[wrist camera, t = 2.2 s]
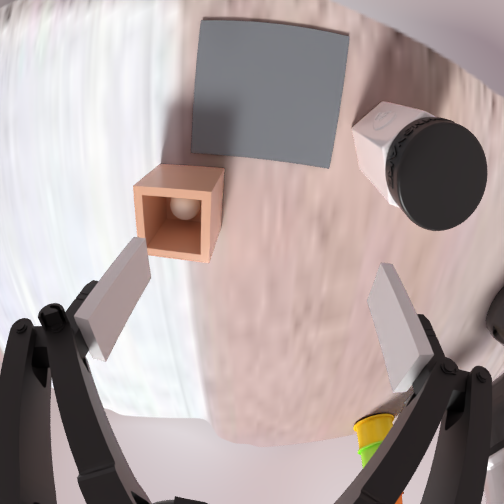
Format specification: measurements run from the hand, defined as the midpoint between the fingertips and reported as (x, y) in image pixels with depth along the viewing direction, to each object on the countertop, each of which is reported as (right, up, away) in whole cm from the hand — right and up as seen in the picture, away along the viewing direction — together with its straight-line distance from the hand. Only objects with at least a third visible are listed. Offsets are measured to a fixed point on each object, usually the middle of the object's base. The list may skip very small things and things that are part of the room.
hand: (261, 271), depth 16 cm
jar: (+14, +12, +11) cm, 21 cm away
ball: (-7, +6, +14) cm, 16 cm away
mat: (+1, +16, +9) cm, 19 cm away
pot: (-7, +7, +15) cm, 18 cm away
